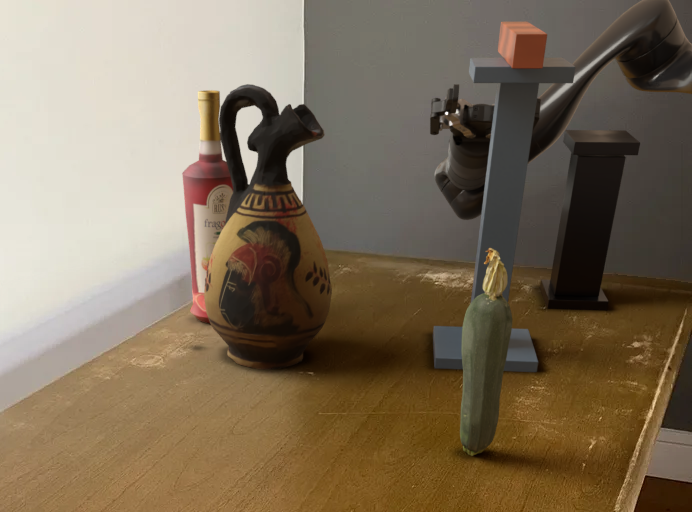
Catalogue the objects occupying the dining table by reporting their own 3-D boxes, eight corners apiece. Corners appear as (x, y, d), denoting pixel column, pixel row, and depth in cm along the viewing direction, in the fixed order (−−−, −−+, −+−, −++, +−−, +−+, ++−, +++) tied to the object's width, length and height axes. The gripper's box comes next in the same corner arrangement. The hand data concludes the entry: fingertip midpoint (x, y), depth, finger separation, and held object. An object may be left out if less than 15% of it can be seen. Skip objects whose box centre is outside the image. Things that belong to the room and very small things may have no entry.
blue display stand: (432, 336, 125) (460, 56, 107) (526, 340, 124) (571, 56, 106) (434, 369, 115) (465, 67, 97) (536, 373, 114) (587, 67, 96)
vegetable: (496, 468, 93) (527, 257, 82) (451, 468, 93) (477, 258, 82) (487, 448, 97) (516, 244, 86) (444, 449, 97) (467, 245, 86)
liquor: (201, 330, 128) (192, 96, 113) (181, 315, 134) (169, 90, 118) (250, 322, 131) (248, 92, 115) (228, 308, 136) (224, 86, 121)
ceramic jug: (348, 346, 123) (361, 82, 106) (297, 387, 111) (304, 98, 95) (231, 327, 129) (226, 76, 112) (172, 364, 118) (157, 91, 101)
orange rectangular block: (497, 51, 112) (501, 21, 111) (523, 51, 112) (527, 21, 110) (511, 68, 96) (516, 33, 94) (542, 68, 96) (547, 33, 94)
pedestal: (539, 289, 142) (564, 129, 130) (595, 291, 141) (626, 130, 129) (547, 310, 134) (575, 141, 122) (606, 312, 133) (640, 142, 121)
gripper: (524, 170, 138) (544, 122, 122) (424, 169, 140) (431, 121, 124) (528, 117, 137) (549, 61, 121) (427, 116, 139) (435, 61, 123)
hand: (489, 91), depth 122 cm, fingers open, 8 cm apart
